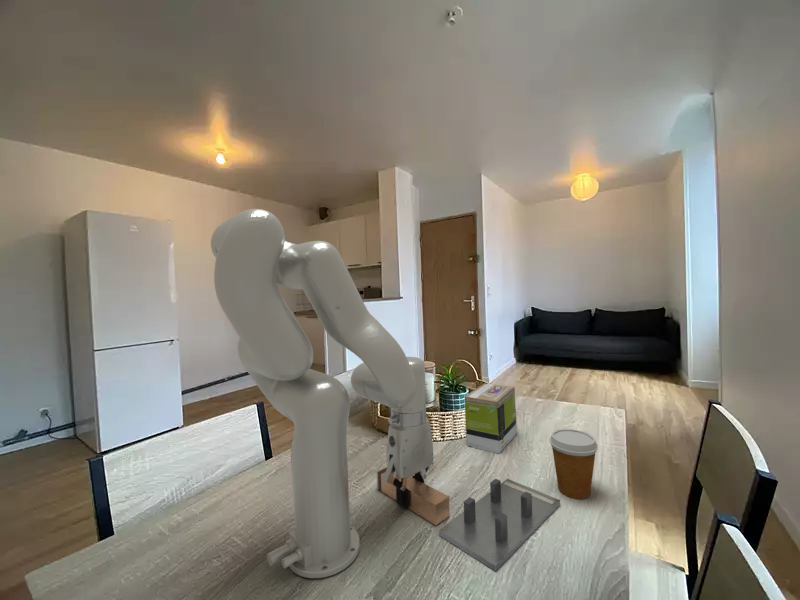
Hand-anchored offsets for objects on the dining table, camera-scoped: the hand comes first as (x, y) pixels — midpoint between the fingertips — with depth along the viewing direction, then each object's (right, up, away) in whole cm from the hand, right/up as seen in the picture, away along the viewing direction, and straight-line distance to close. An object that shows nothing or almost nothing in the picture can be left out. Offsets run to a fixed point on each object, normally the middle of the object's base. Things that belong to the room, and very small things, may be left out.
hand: (410, 499), depth 77 cm
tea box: (+25, +2, +28) cm, 38 cm away
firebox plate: (+18, 0, -7) cm, 19 cm away
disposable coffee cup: (+36, +1, +2) cm, 36 cm away
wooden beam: (0, 0, 0) cm, 0 cm away
